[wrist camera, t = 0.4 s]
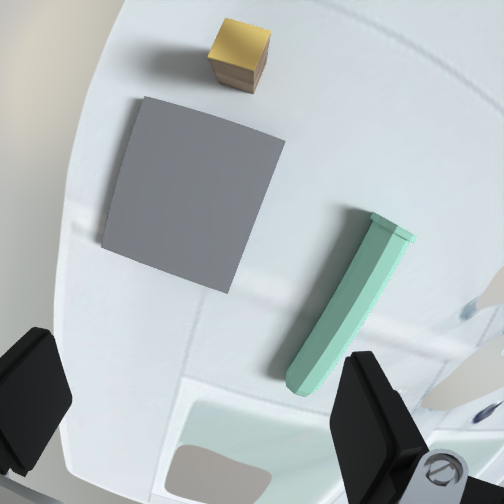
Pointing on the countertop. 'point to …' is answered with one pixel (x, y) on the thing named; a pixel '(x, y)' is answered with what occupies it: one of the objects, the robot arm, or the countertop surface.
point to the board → (189, 192)
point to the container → (349, 305)
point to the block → (239, 54)
